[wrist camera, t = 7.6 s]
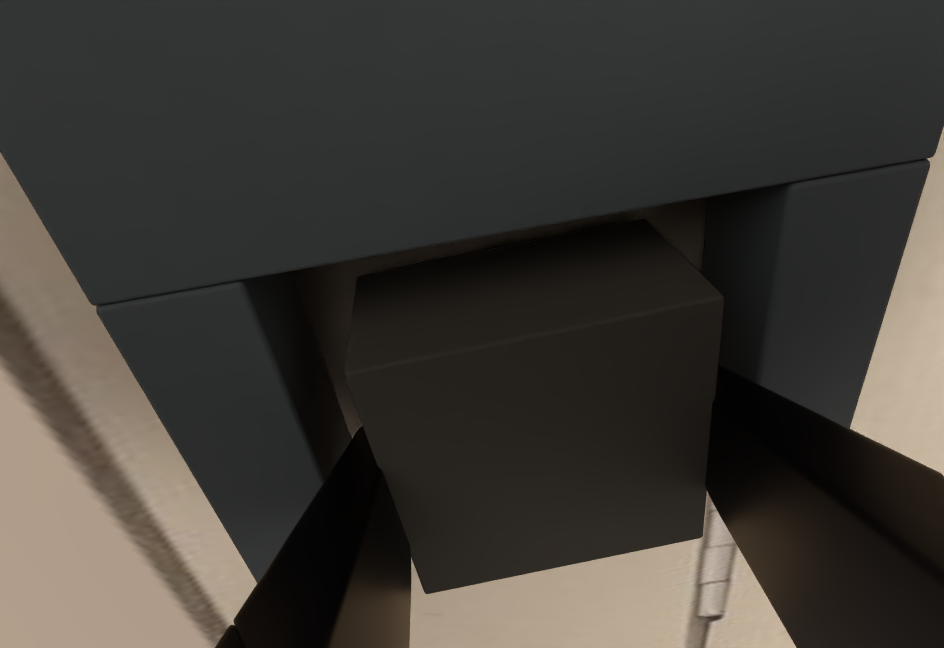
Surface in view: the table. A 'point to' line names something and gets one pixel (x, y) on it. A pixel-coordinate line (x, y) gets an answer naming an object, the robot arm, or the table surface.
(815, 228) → the grey rectangular block
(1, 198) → the table surface
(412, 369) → the black block
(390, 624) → the robot arm
